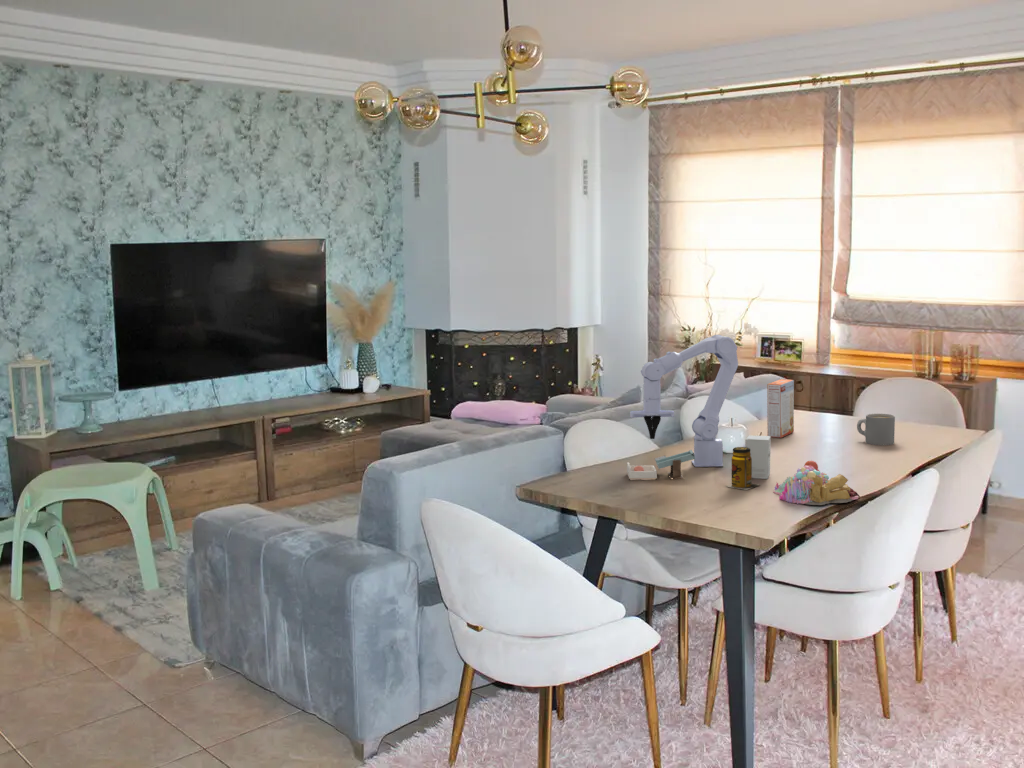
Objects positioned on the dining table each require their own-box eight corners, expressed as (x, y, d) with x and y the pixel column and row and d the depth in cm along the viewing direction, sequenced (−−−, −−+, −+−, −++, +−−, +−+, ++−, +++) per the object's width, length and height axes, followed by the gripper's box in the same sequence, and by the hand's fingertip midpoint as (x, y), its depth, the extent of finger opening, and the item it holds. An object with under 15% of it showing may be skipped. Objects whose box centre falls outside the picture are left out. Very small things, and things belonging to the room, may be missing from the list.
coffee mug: (899, 442, 365) (900, 415, 363) (884, 446, 359) (884, 419, 357) (867, 437, 375) (867, 411, 374) (851, 441, 369) (852, 414, 368)
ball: (632, 466, 321) (635, 475, 322) (633, 468, 318) (636, 478, 319) (641, 463, 321) (644, 472, 322) (642, 465, 318) (645, 475, 318)
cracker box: (779, 431, 392) (780, 378, 390) (794, 432, 389) (795, 379, 386) (765, 437, 381) (766, 383, 378) (781, 438, 378) (781, 384, 375)
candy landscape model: (875, 499, 286) (875, 468, 285) (816, 512, 275) (817, 479, 274) (809, 483, 308) (810, 454, 307) (752, 494, 297) (753, 463, 295)
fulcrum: (680, 473, 324) (680, 455, 323) (683, 479, 316) (683, 460, 315) (667, 473, 324) (667, 455, 323) (670, 479, 316) (670, 461, 315)
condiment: (725, 486, 305) (725, 448, 303) (741, 481, 311) (741, 444, 309) (745, 490, 300) (746, 451, 298) (761, 485, 305) (761, 447, 304)
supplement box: (768, 479, 313) (768, 440, 311) (744, 478, 316) (744, 439, 314) (770, 474, 320) (771, 435, 318) (747, 473, 322) (747, 434, 321)
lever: (689, 451, 328) (688, 445, 328) (695, 458, 316) (693, 452, 316) (654, 460, 329) (653, 455, 329) (658, 468, 317) (657, 463, 317)
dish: (653, 473, 324) (653, 461, 324) (656, 479, 316) (656, 467, 315) (627, 474, 325) (627, 462, 324) (629, 480, 316) (629, 468, 315)
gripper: (631, 400, 327) (631, 441, 329) (675, 399, 326) (675, 440, 328) (629, 397, 334) (629, 437, 336) (672, 396, 333) (672, 436, 335)
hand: (652, 438), depth 332 cm, fingers closed
